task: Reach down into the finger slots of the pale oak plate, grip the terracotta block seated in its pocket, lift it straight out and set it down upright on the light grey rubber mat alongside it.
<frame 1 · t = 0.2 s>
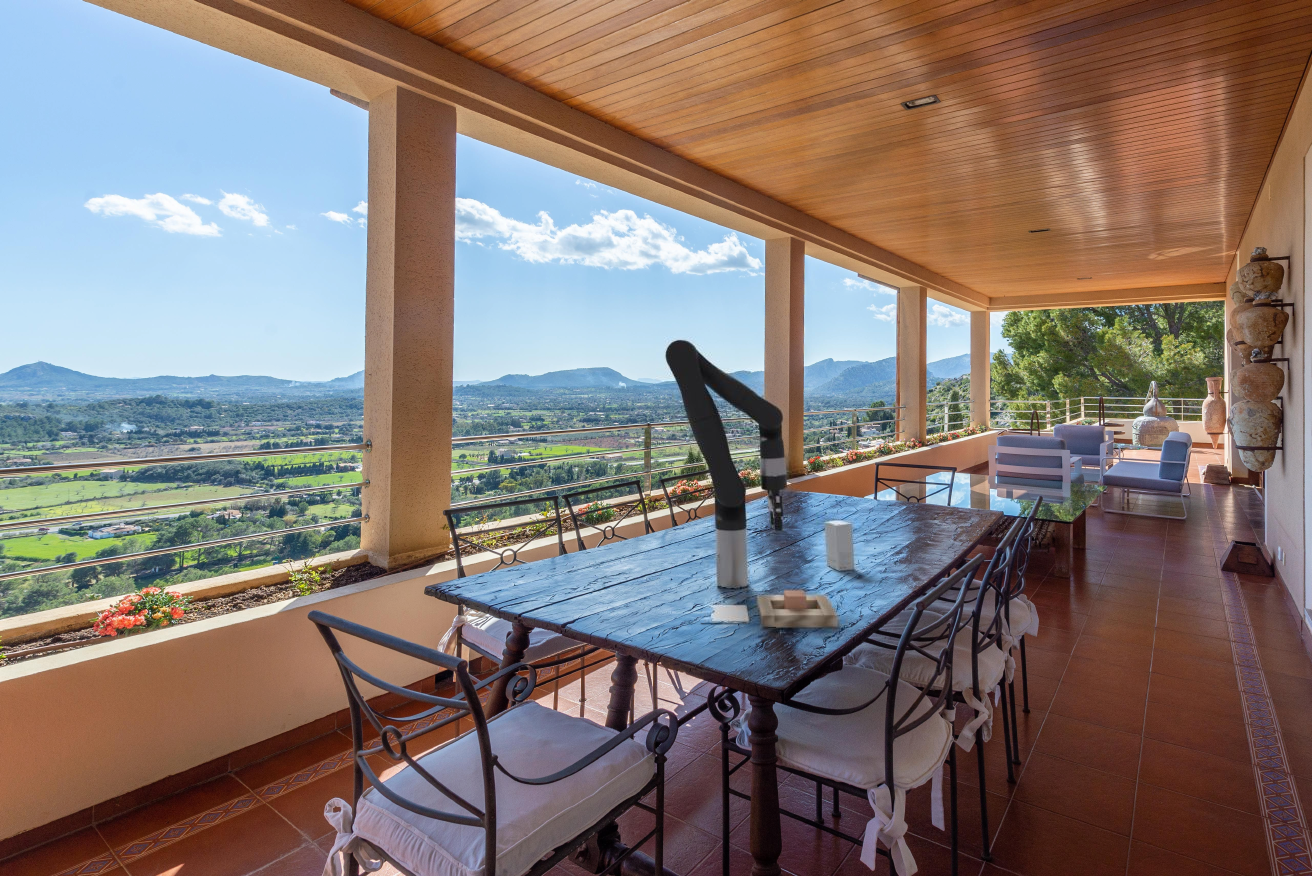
hand: (776, 527, 189), 17 cm above the table, tool pointing down, fingers open, 8 cm apart
pocket plate: (795, 616, 163), on the table
skincare box: (839, 568, 207), on the table
mat: (724, 615, 166), on the table
block: (795, 604, 163), in the pocket plate
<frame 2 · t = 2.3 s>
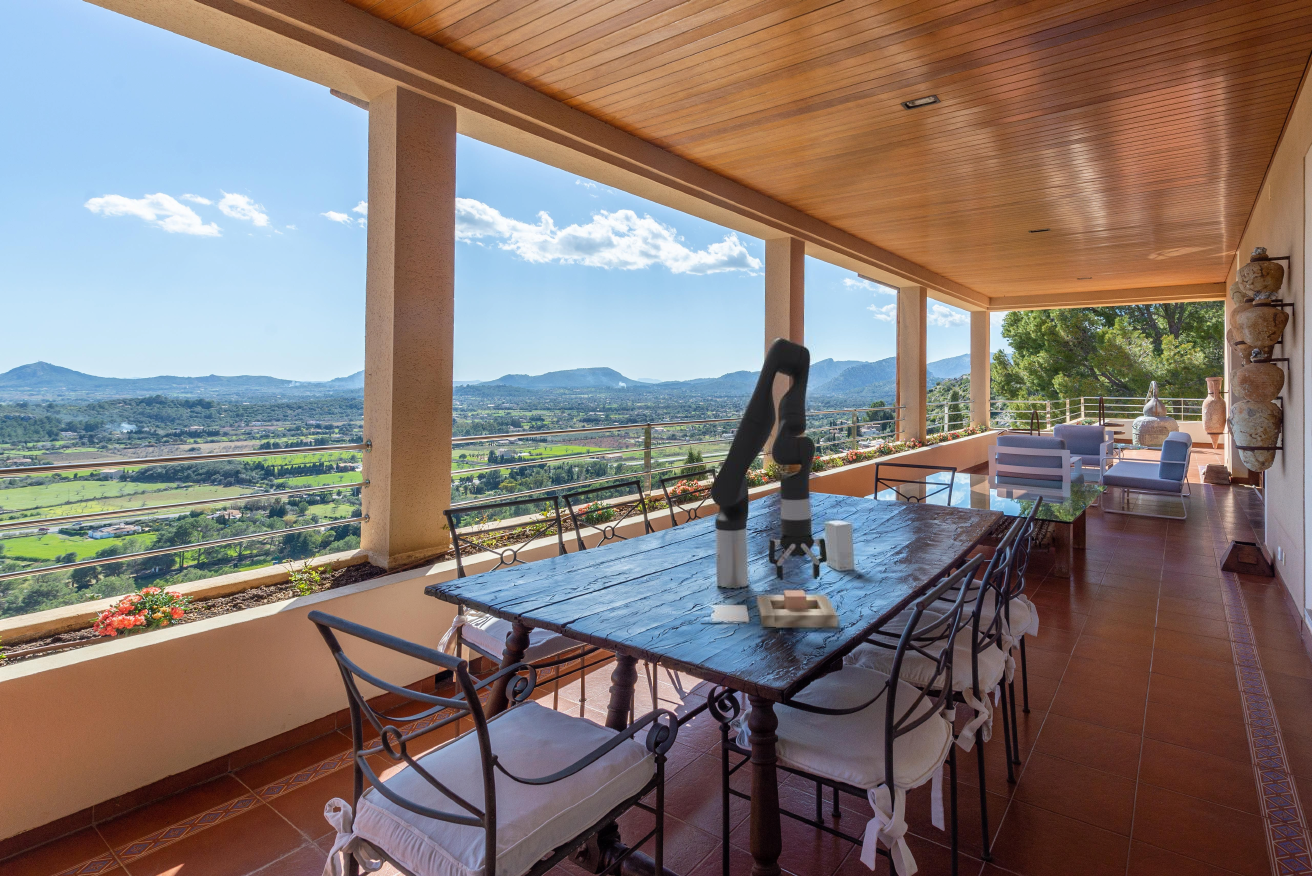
hand: (798, 579, 163), 10 cm above the table, tool pointing down, fingers open, 8 cm apart
nothing on the table moved.
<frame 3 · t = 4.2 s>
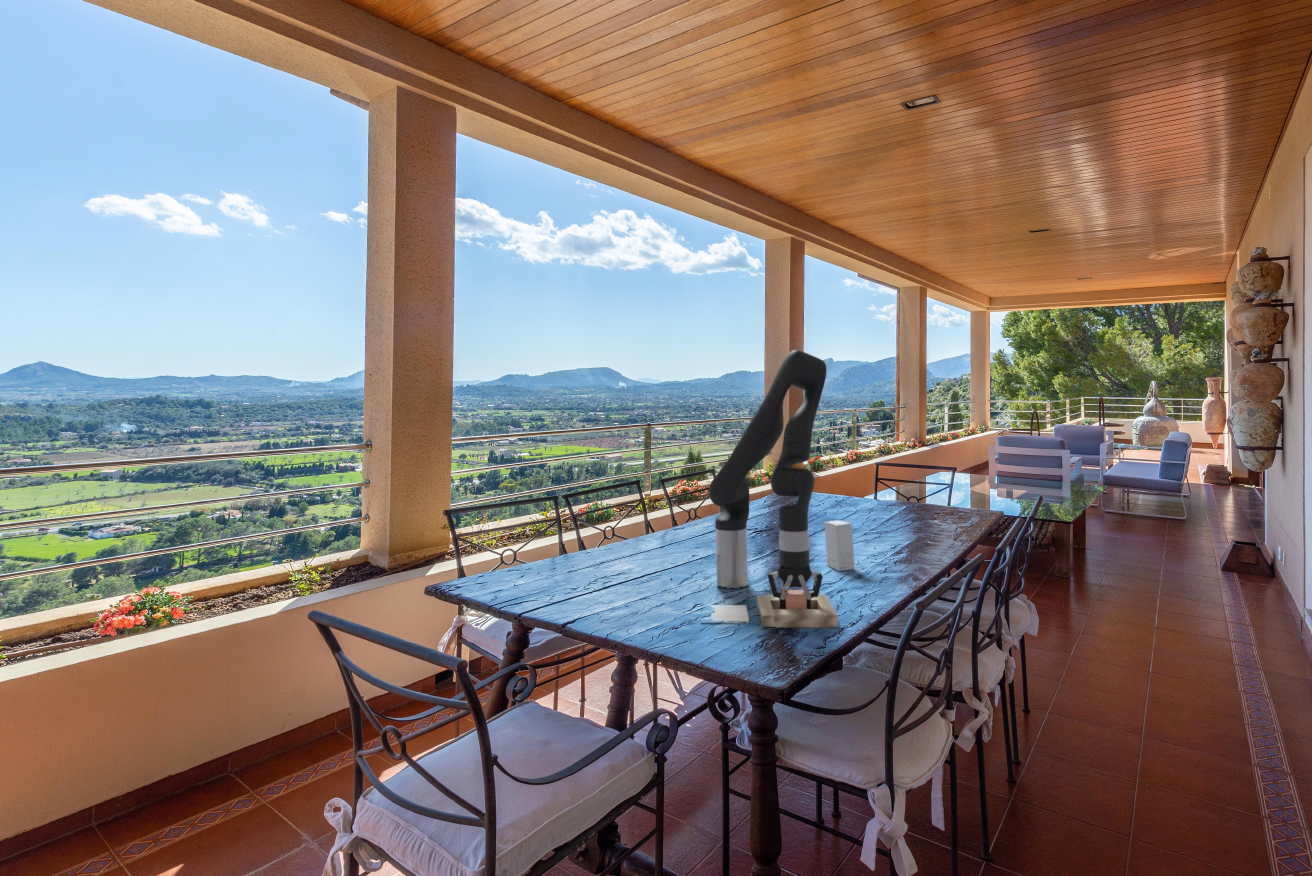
hand: (795, 612, 163), 1 cm above the table, tool pointing down, fingers closed on block, 5 cm apart
block: (795, 604, 163), in the pocket plate, touching gripper
everything else where it was.
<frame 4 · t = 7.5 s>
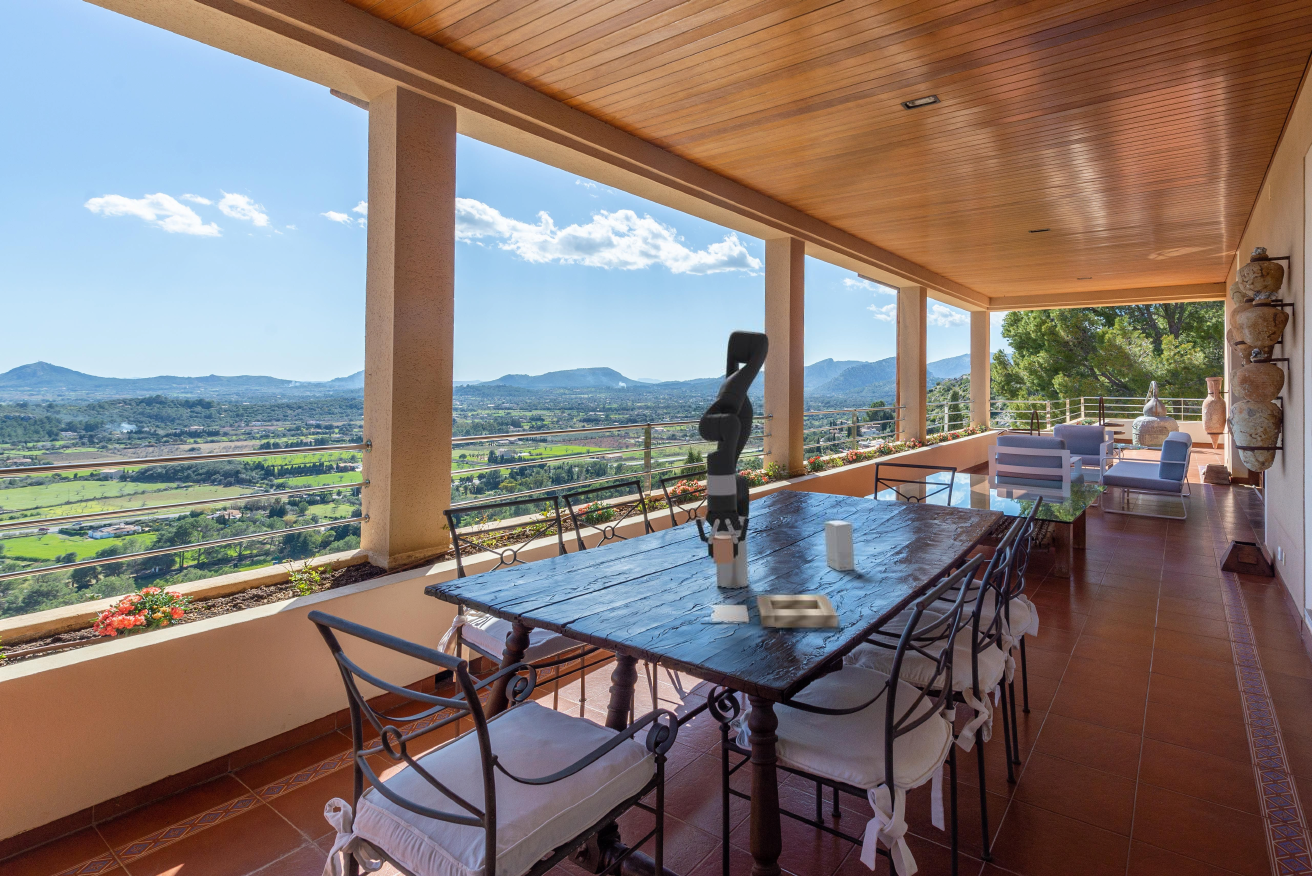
hand: (723, 557, 165), 15 cm above the table, tool pointing down, fingers closed on block, 5 cm apart
block: (723, 549, 165), point 17 cm above the table, touching gripper
everything else where it was.
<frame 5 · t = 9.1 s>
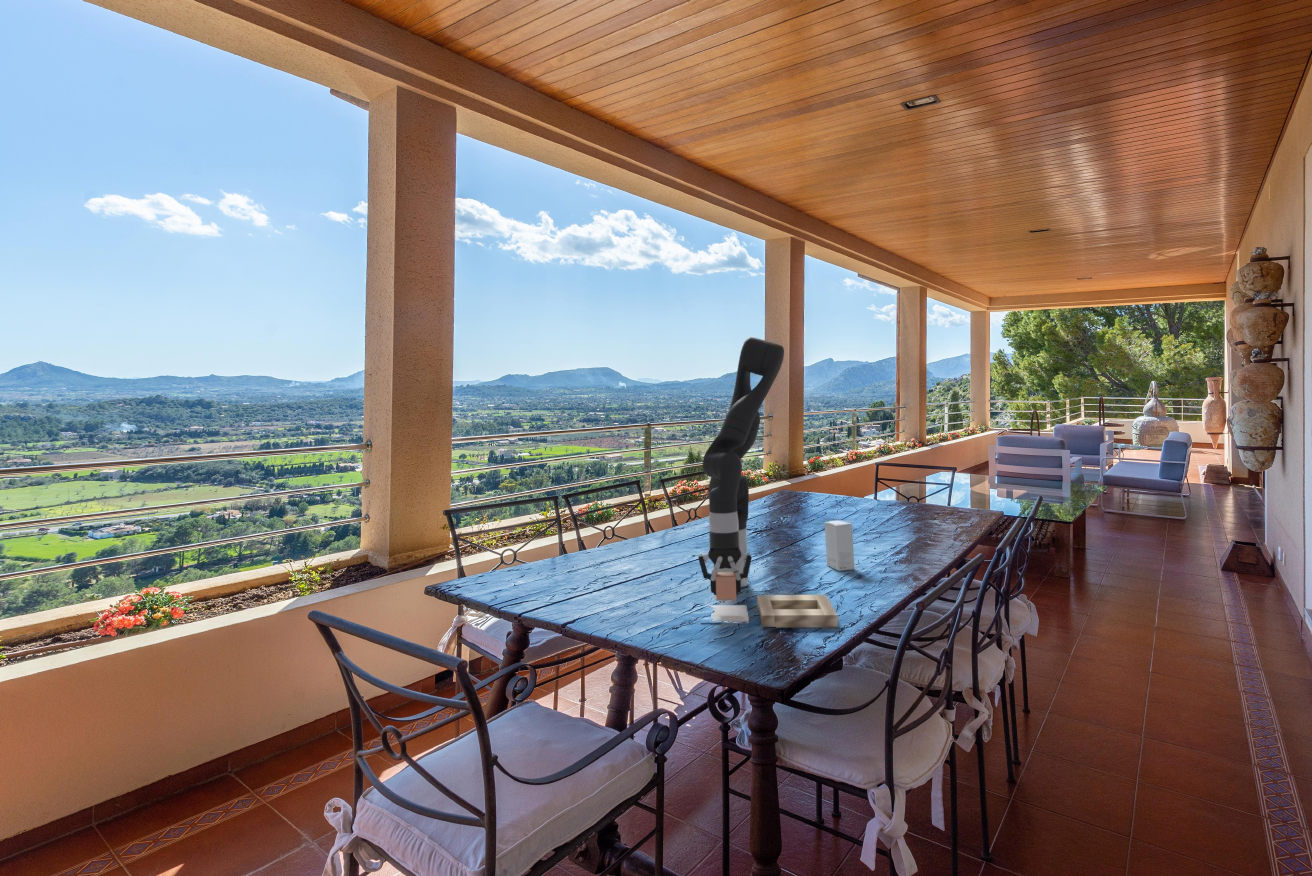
hand: (726, 593, 165), 6 cm above the table, tool pointing down, fingers closed on block, 5 cm apart
block: (725, 586, 165), point 8 cm above the table, touching gripper
everything else where it was.
when the fingers open (3 cm above the table, at t = 10.6 s): block drops 1 cm, resting on mat.
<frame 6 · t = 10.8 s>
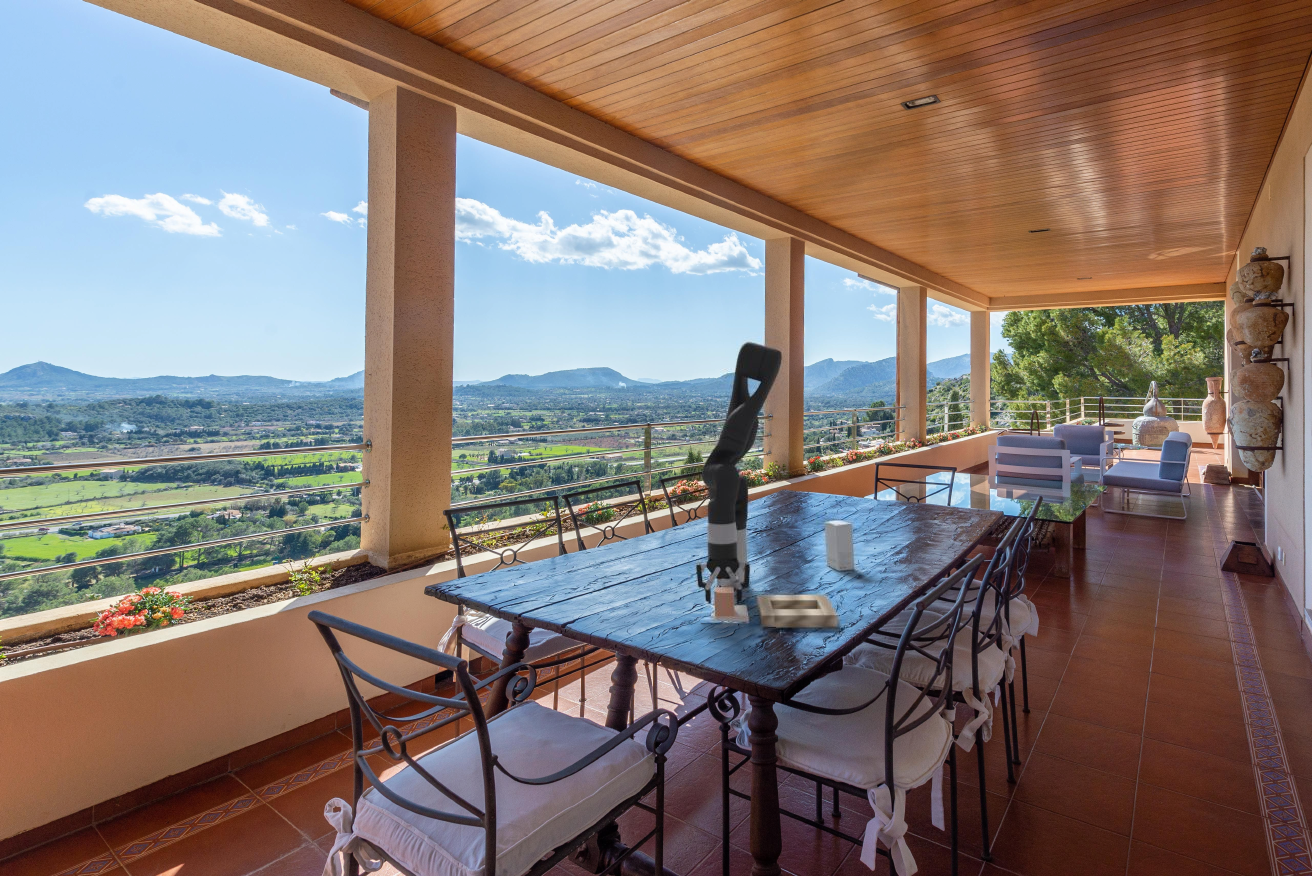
hand: (723, 602, 166), 3 cm above the table, tool pointing down, fingers open, 6 cm apart
block: (724, 601, 166), on the mat, point 4 cm above the table
everything else where it was.
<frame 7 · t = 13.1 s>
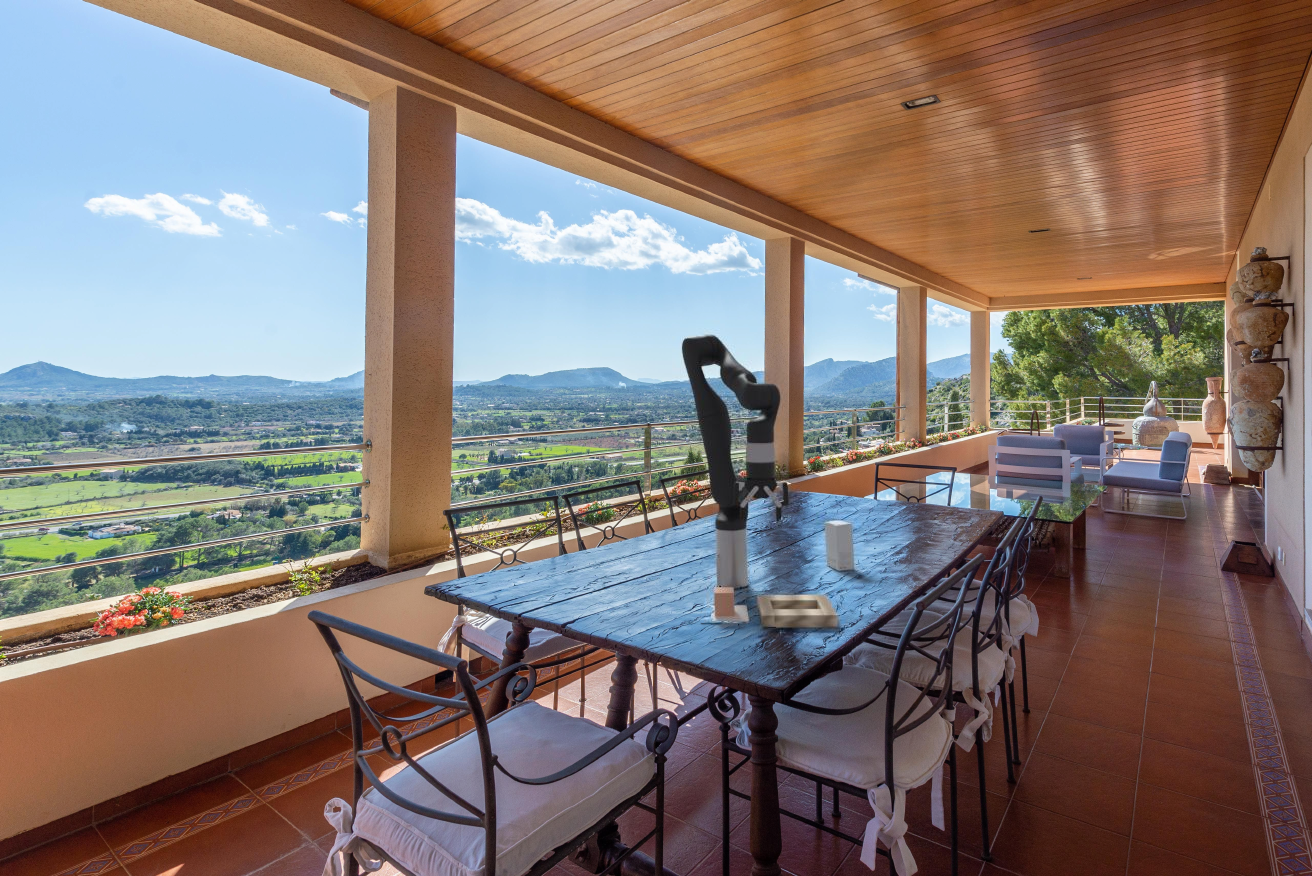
hand: (760, 521, 169), 23 cm above the table, tool pointing down, fingers open, 8 cm apart
nothing on the table moved.
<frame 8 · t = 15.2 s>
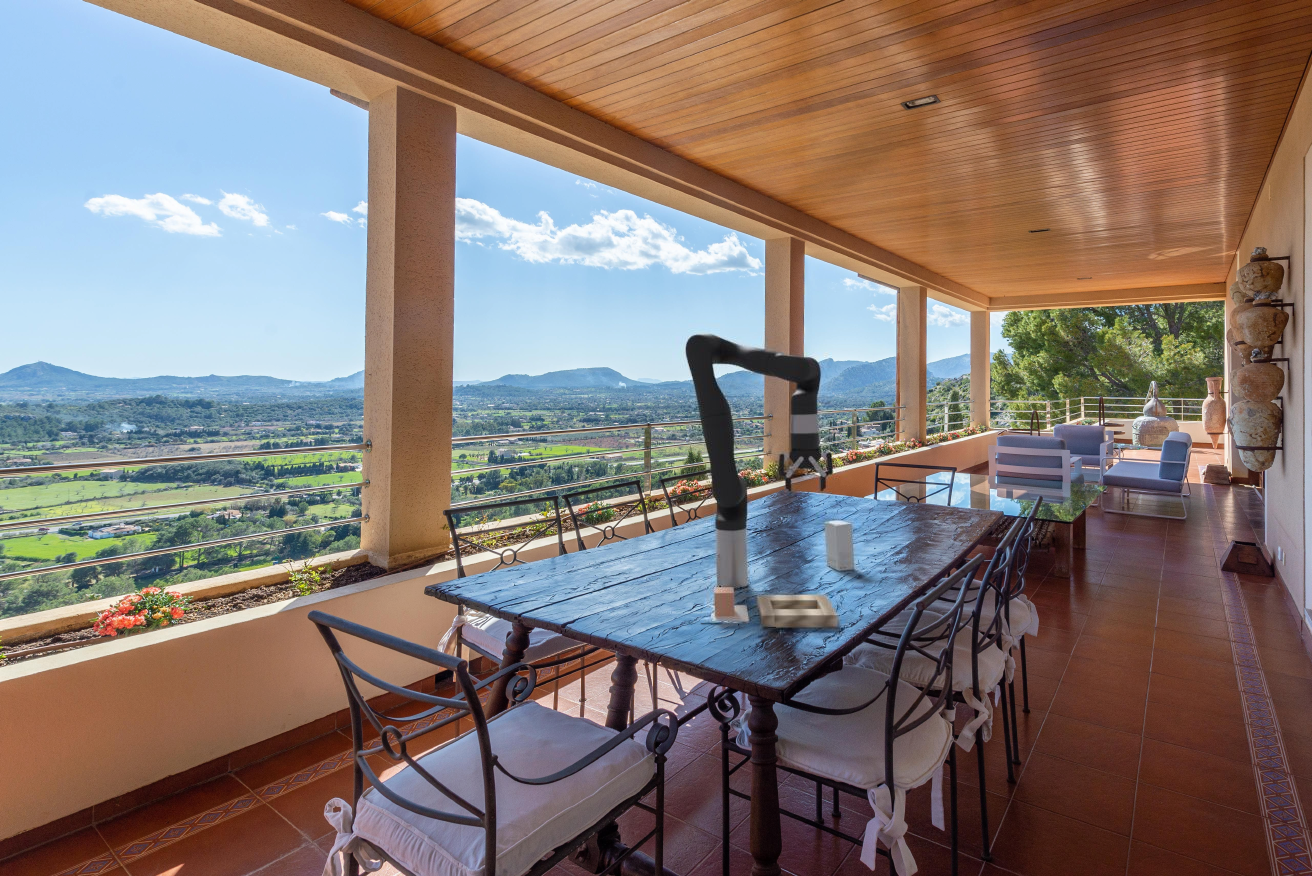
hand: (805, 490, 174), 30 cm above the table, tool pointing down, fingers open, 8 cm apart
nothing on the table moved.
at the end: block inside the target area on the mat (0.1 cm from its centre), point 3.6 cm above the mat's base; block tilted 0°; the gripper is holding nothing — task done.
